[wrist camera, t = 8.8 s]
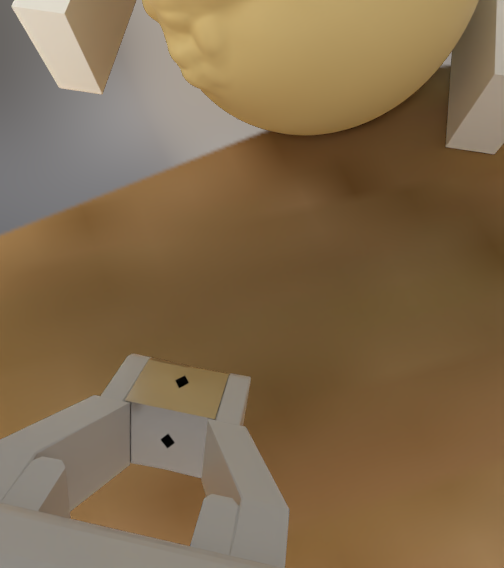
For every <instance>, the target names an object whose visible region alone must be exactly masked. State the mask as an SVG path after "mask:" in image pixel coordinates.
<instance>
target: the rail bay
mask: <svg viewBox="0 0 504 568" xmlns="http://www.w3.org/2000/svg"><path fill="white" fill-rule="evenodd" d="M135 3H136V0H14V2H13V4H12V8H13V10H14V12H15V13H16V15H17V17H18V18H19V20H20V22H21V23H22V25H23V27H24V29H25V30H26V32H27V34H28V35H29V37H30V39H31V41H32V42H33V44H34V46H35V47H36V49H37V51H38V52H39V54H40V56H41V58H42V59H43V61H44V63H45V64H46V66H47V68H48V69H49V71H50V73H51V74H52V76H53V78H54V80H55V81H56V83H57V85H58V86H59V88H63V89H70V90H76V91H83V92H90V93H96V94H103V91H104V88H105V86H106V83H107V80H108V77H109V75H110V71H111V69H112V66H113V64H114V61H115V58H116V55H117V53H118V50H119V47H120V44H121V42H122V39H123V36H124V33H125V30H126V27H127V25H128V22H129V19H130V16H131V13H132V11H133V8H134V5H135ZM503 144H504V0H479V1H478V4H477V6H476V9H475V11H474V13H473V15H472V17H471V19H470V21H469V23H468V25H467V27H466V29H465V31H464V33H463V34H462V36H461V38H460V39H459V41H458V43H457V44H456V46H455V47H454V49H453V50H452V59H451V73H450V88H449V103H448V117H447V132H446V146H445V147H449V148H456V149H462V150H469V151H475V152H482V153H488V154H495V153H496V152H497V151H498V149H499V148H500V147H501V146H502V145H503Z"/></svg>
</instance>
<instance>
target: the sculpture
mask: <svg viewBox="0 0 504 568" xmlns="http://www.w3.org/2000/svg"><path fill="white" fill-rule="evenodd" d="M478 1H479V0H142V3H143V6H144V9H145V11H146V13H147V14H148V15H149V16H150V17H151V18H153V19H154V20H156V21H157V22H158V23H159V24H160V25H161V27H162V30H163V32H164V36H165V39H166V42H167V45H168V51H169V53H170V56H171V57H172V59H173V60H174V61H175V62H176V63H177V65H178V66H179V67H180V69H181V72H182V75H183V76H184V78H185V79H186V81H188V83H190V84H191V85H193V86H195V87H197V88H200V89H201V91H202V92H203V93H204V94H205V95H206V96H207V97H209V98H210V99H211V100H212V101H213V102H214V103H215V104H216V105H218V106H219V107H220V108H222V109H223V110H224V111H226V112H227V113H229V114H231V115H232V116H234V117H236V118H238V119H239V120H241V121H244V122H246V123H248V124H250V125H253V126H255V127H258V128H261V129H265V130H268V131H272V132H277V133H282V134H290V135H320V134H328V133H334V132H338V131H342V130H346V129H350V128H353V127H356V126H358V125H361V124H364V123H366V122H368V121H371V120H373V119H375V118H377V117H379V116H381V115H383V114H385V113H386V112H388V111H390V110H391V109H393V108H394V107H396V106H398V105H399V104H400V103H402V102H403V101H405V100H406V99H407V98H408V97H410V96H411V95H412V94H413V93H415V92H416V91H417V90H418V89H419V88H420V87H421V86H422V85H423V84H424V83H425V82H427V81H428V79H429V78H430V77H431V76H432V75H433V74H434V73H435V72H436V71H437V70H438V68H439V67H440V66H441V65H442V64H443V62H444V61H445V60H446V58H447V57H448V56H449V54H450V53H451V52H452V50H453V49H454V47H455V46H456V44H457V43H458V41H459V39H460V38H461V36H462V34H463V33H464V31H465V29H466V27H467V25H468V23H469V21H470V19H471V17H472V15H473V13H474V11H475V9H476V6H477V4H478Z"/></svg>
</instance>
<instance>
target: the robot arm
mask: <svg viewBox="0 0 504 568" xmlns="http://www.w3.org/2000/svg"><path fill="white" fill-rule="evenodd" d="M250 382H251V378H250V377H249V376H244V375H238V374H232V373H231V374H229V373H224V372H219V371H214V370H209V369H203V368H198V367H193V366H189V365H185V364H180V363H176V362H171V361H167V360H162V359H158V358H153V357H152V358H151V357H148V356H143V355H138V354H134V353H132V354H130V355H128V356H127V357H126V359H125V360H124V362H123V363H122V365H121V366H120V368H119V369H118V371H117V372H116V374H115V375H114V377H113V378H112V379H111V381H110V382H109V384H108V385H107V387H106V388H105V390H104V391H103V393H102V394H101V396H96V395H93V396H91V397H89V398H87V399H85V400H83V401H81V402H78V403H76V404H74V405H72V406H70V407H68V408H66V409H64V410H62V411H59V412H57V413H55V414H53V415H51V416H49V417H47V418H45V419H43V420H41V421H38V422H36V423H34V424H32V425H30V426H28V427H26V428H24V429H22V430H19V431H17V432H15V433H13V434H11V435H9V436H7V437H5V438H3V439H1V440H0V568H285V560H286V547H287V534H288V522H289V508H288V506H287V504H286V502H285V500H284V498H283V496H282V494H281V492H280V491H279V489H278V487H277V485H276V483H275V481H274V479H273V477H272V475H271V473H270V472H269V470H268V468H267V466H266V464H265V462H264V460H263V458H262V456H261V454H260V453H259V451H258V449H257V447H256V445H255V443H254V441H253V439H252V437H251V435H250V433H249V432H248V430H247V428H246V427H245V426H243V424H244V418H245V412H246V406H247V400H248V394H249V388H250ZM130 463H134V464H140V465H145V466H150V467H155V468H161V469H166V470H170V471H174V472H178V473H182V474H186V475H190V476H194V477H198V478H202V479H201V481H202V484H203V488H204V491H205V494H206V497H205V498H204V500H203V504H202V507H201V511H200V514H199V517H198V521H197V524H196V527H195V531H194V534H193V537H192V541H191V544H190V546H186V545H182V544H178V543H173V542H169V541H165V540H160V539H156V538H152V537H147V536H143V535H139V534H134V533H130V532H126V531H122V530H117V529H113V528H109V527H104V526H100V525H96V524H91V523H87V522H83V521H78V520H74V519H70V511H72V510H73V509H74V508H75V507H77V506H78V505H79V504H80V503H82V502H83V501H84V500H86V499H87V498H88V497H89V496H91V495H92V494H93V493H95V492H96V491H97V490H98V489H100V488H101V487H102V486H103V485H105V484H106V483H107V482H109V481H110V480H111V479H112V478H114V477H115V476H116V475H118V474H119V473H120V472H121V471H123V470H124V469H125V468H126V467H128V466H129V465H130Z"/></svg>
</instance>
